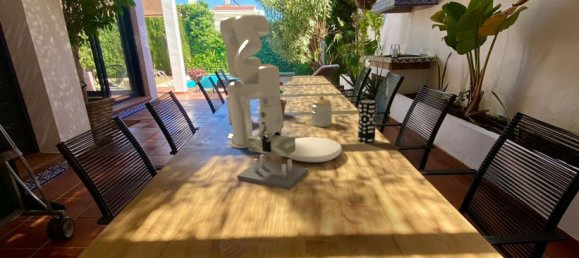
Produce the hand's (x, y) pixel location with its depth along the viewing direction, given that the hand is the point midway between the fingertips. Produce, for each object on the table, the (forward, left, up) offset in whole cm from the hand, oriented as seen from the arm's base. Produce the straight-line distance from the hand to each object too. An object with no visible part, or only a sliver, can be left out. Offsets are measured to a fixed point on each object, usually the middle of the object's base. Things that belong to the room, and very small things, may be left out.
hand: (272, 147), depth 113 cm
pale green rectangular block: (0, 0, -1) cm, 1 cm away
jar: (-9, +75, -12) cm, 77 cm away
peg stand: (0, 0, -11) cm, 11 cm away
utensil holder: (-59, +61, -12) cm, 86 cm away
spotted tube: (+23, +54, -11) cm, 60 cm away
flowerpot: (-45, +84, -12) cm, 96 cm away
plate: (+5, +26, -12) cm, 29 cm away
